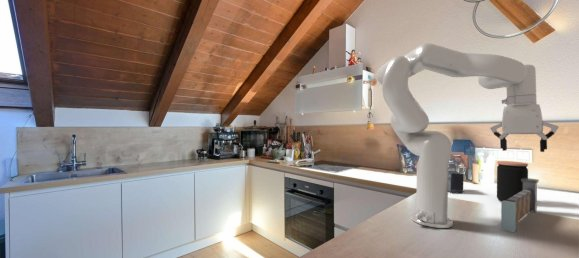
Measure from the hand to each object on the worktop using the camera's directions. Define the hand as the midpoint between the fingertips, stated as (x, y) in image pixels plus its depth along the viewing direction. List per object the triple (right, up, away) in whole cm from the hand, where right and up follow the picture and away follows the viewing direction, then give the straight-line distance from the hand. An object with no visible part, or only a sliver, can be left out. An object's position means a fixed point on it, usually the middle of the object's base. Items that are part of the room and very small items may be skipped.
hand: (522, 150), depth 87 cm
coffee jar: (+21, -26, +28) cm, 44 cm away
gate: (+2, -25, +4) cm, 25 cm away
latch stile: (-10, -25, -6) cm, 28 cm away
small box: (+6, -26, +47) cm, 54 cm away
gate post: (+15, -26, +14) cm, 33 cm away
